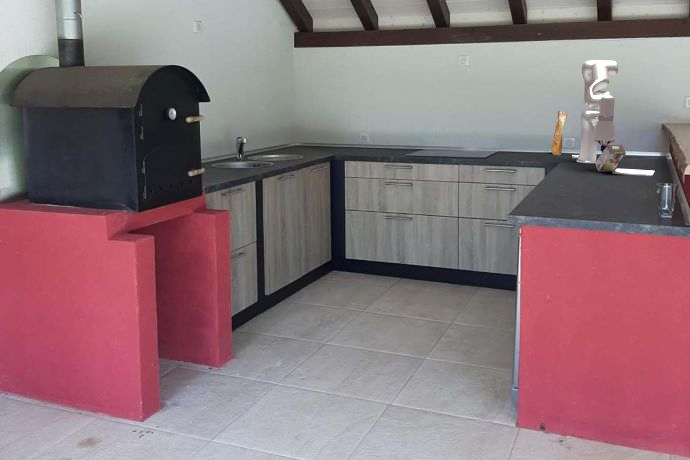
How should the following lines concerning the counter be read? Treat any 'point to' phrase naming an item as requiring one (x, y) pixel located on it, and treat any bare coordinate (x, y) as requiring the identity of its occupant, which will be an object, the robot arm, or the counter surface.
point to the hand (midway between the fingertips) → (603, 152)
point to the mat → (634, 172)
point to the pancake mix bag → (558, 133)
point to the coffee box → (610, 158)
